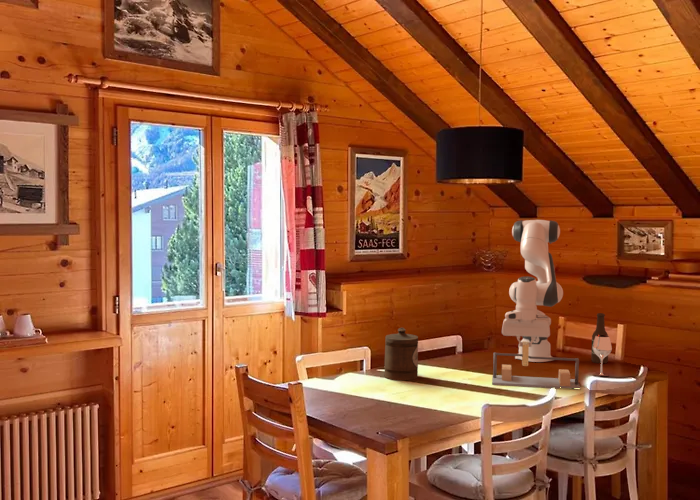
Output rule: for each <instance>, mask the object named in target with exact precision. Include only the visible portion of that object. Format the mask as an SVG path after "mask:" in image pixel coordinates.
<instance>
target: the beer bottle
mask: <svg viewBox="0 0 700 500" xmlns="http://www.w3.org/2000/svg"><path fill="white" fill-rule="evenodd" d="M605 316H606V314H605V313H603V312H602V313H601V312H599V313H597V314H596V317H597V318H596V327H595V330H594V331H593V333H592V335H591V336H592V337H591V351H590V353H591V354H590V355H591V356H590V357H591V358H590V359H591V363H594V364H599V363H601V360H600V358H599V357H598V356H597V355H596V354H595V353H594V351H593V349H592V347H593V343H594V339H595V336H596V335H607V336H609V334H608V332H607V331H606V326H605V324H606V323H605ZM607 362H608V363H609V355H608V356H606V357H605V358H604V359H603V363H605V364H607Z"/></svg>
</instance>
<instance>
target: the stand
mask: <svg viewBox="0 0 700 500" xmlns="http://www.w3.org/2000/svg"><path fill="white" fill-rule="evenodd" d="M497 353H498V352H493V358H492V359H493V362H492V363H493V368H492V369H493V370H492V371H493V372H492V373H493V374H492V376H491V377H492V380H491V384H492V385H491V386H506V387H507V386H508V387H527V388H541V389H542V388H546V389H552V388H551V387H555V388H554V389H559V388H560V387H561V388H580V389H581V386H580V383H579V376H580V375H579V373H580V369H579V366H580V359H579V358H578V357H577V358H575V359H576V361H574V362H575V365H574V370H575V371H574V378H571V373H570V370H569V369H558V377H555V378H554V377H541V376H539V377H538V376H524V375H522V376H521V375H512V364H501V374H498V375H497V361H498V360H497V359H498V355H497Z"/></svg>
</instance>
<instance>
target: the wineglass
mask: <svg viewBox="0 0 700 500" xmlns="http://www.w3.org/2000/svg"><path fill="white" fill-rule="evenodd" d="M592 349H593V351H594V353H595V354H596V355H597V356H598V357H599V358H600V360H601V364H600V374H599V375H604V374H605V373H603V359H604V358H605V357H606V356H608V357H609V355H610V354H611V352H612V349H613V348H612V342H611V338H610V336H609V335H608V336H607V335H596V336H595V339H594V343H593V347H592V346H591V350H592Z"/></svg>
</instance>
